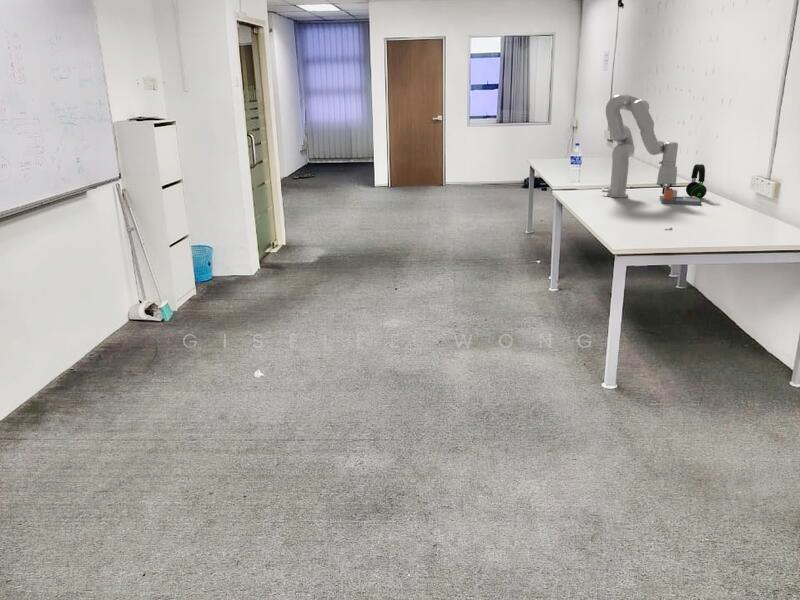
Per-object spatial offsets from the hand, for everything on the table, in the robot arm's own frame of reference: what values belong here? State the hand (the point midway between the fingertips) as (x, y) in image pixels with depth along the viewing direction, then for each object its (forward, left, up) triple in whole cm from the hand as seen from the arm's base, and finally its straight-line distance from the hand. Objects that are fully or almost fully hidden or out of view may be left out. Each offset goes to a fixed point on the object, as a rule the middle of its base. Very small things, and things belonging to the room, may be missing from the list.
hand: (664, 195), depth 376 cm
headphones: (+19, +14, -3) cm, 24 cm away
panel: (+8, -3, -3) cm, 9 cm away
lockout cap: (+1, -6, -1) cm, 7 cm away
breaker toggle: (+5, 0, -1) cm, 5 cm away
